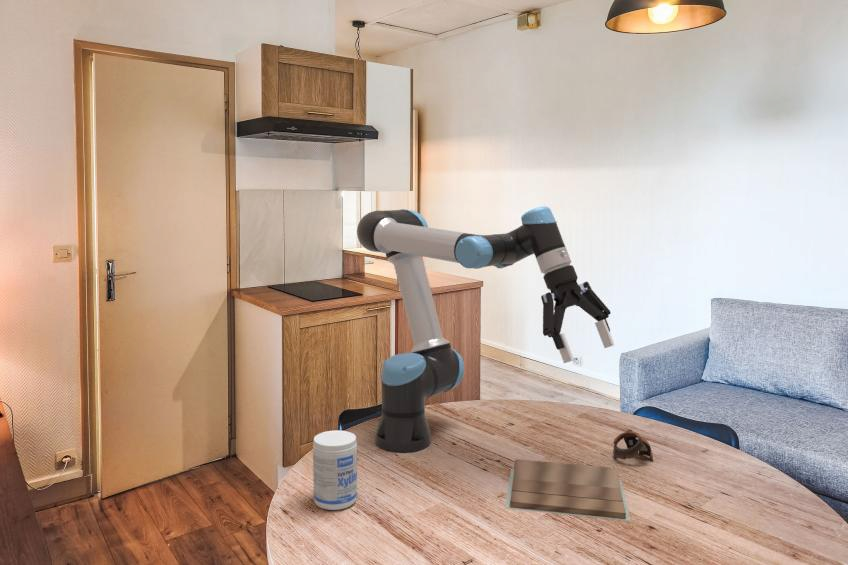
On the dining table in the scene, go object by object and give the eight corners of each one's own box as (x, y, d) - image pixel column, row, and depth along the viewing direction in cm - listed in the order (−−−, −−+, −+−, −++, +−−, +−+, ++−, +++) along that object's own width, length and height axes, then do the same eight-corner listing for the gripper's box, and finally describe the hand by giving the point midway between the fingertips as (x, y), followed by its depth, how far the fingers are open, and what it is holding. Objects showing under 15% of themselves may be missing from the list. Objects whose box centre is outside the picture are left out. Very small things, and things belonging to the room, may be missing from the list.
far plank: (513, 482, 151) (513, 478, 150) (514, 462, 155) (514, 459, 155) (619, 492, 146) (620, 489, 145) (618, 471, 151) (618, 468, 150)
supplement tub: (346, 515, 136) (345, 448, 134) (305, 508, 139) (304, 443, 137) (364, 494, 145) (363, 432, 143) (325, 488, 148) (324, 427, 146)
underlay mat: (505, 509, 139) (505, 507, 139) (510, 470, 158) (510, 469, 158) (630, 522, 134) (630, 520, 134) (620, 481, 153) (621, 479, 153)
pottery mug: (660, 469, 161) (648, 445, 158) (624, 482, 163) (612, 458, 160) (648, 440, 172) (637, 416, 169) (614, 452, 174) (603, 429, 171)
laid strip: (510, 506, 139) (510, 501, 139) (511, 495, 144) (511, 490, 144) (625, 518, 134) (625, 513, 134) (623, 507, 139) (623, 501, 139)
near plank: (511, 495, 144) (511, 490, 144) (513, 483, 150) (513, 478, 150) (622, 506, 140) (623, 501, 139) (620, 493, 145) (620, 488, 145)
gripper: (527, 274, 144) (561, 365, 140) (603, 254, 157) (636, 337, 153) (508, 284, 150) (540, 371, 147) (583, 264, 163) (614, 344, 160)
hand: (589, 354), depth 150 cm, fingers open, 13 cm apart
